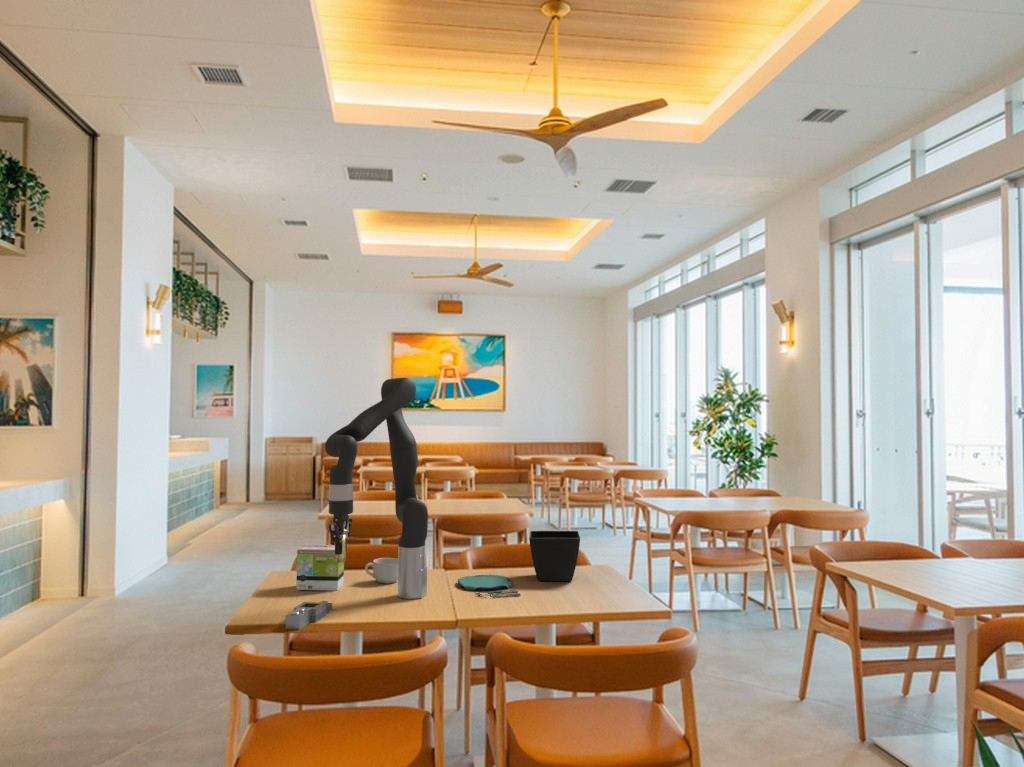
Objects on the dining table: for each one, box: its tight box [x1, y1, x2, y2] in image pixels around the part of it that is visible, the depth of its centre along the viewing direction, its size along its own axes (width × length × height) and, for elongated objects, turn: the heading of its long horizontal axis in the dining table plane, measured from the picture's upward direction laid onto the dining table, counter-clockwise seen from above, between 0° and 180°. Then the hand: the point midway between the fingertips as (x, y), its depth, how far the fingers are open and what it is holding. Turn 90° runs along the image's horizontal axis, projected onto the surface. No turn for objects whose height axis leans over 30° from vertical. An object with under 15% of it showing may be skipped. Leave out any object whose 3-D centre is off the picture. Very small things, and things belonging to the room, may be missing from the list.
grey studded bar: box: [285, 600, 333, 630], centre depth 236 cm, size 7×23×5 cm, turn 170°
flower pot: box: [528, 530, 581, 582], centre depth 293 cm, size 19×19×17 cm
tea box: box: [296, 544, 345, 592], centre depth 277 cm, size 15×10×15 cm, turn 90°
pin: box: [336, 529, 347, 563], centre depth 242 cm, size 4×4×10 cm
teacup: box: [364, 557, 398, 584], centre depth 286 cm, size 14×11×8 cm
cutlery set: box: [457, 574, 521, 599], centre depth 276 cm, size 20×30×2 cm, turn 16°
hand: (340, 553), depth 242 cm, fingers closed on pin, 3 cm apart
